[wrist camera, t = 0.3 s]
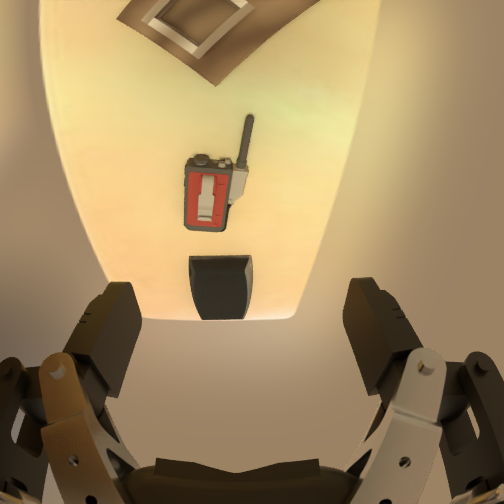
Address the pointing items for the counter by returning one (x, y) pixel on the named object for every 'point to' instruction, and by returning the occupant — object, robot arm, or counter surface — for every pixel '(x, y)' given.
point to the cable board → (211, 29)
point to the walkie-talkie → (214, 187)
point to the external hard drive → (221, 285)
